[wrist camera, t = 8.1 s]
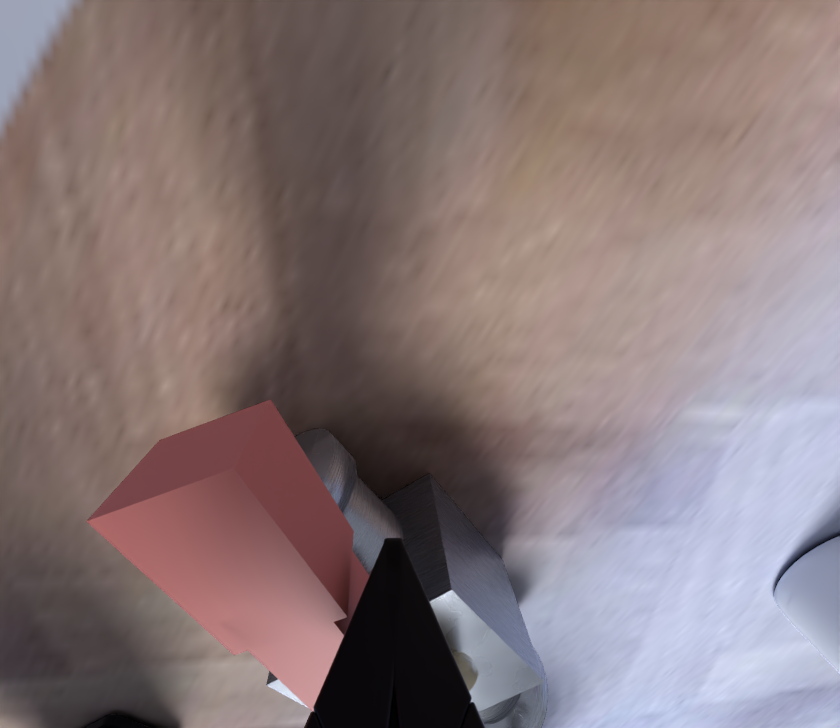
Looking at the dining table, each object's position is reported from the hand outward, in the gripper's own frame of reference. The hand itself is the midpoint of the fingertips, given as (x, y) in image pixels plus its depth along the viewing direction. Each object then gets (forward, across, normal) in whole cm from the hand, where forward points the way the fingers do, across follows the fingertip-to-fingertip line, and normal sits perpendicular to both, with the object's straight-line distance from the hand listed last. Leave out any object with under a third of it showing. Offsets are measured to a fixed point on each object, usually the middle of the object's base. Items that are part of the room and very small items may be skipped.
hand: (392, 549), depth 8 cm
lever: (0, +1, +3) cm, 3 cm away
